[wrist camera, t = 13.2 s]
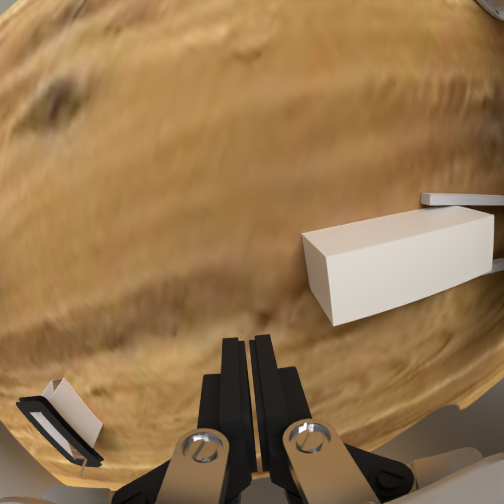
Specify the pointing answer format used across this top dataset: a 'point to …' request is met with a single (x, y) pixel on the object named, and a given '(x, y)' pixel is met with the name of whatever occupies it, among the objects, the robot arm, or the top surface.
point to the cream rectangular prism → (396, 259)
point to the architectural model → (65, 422)
